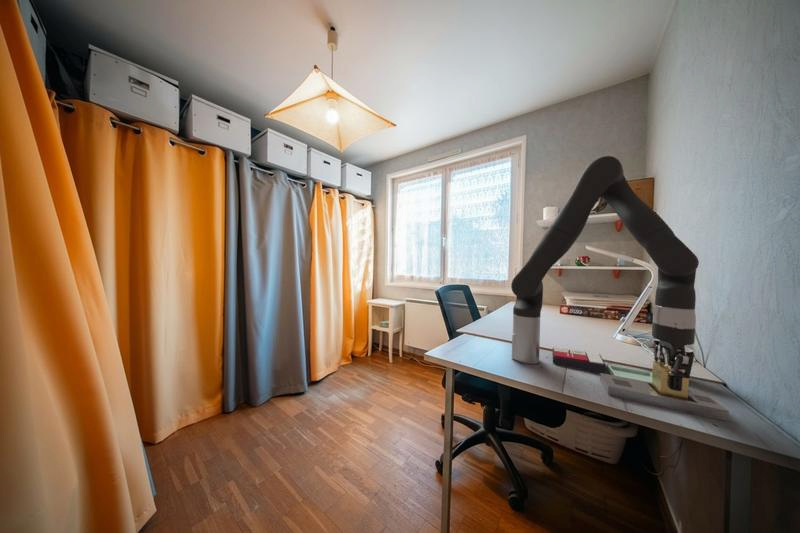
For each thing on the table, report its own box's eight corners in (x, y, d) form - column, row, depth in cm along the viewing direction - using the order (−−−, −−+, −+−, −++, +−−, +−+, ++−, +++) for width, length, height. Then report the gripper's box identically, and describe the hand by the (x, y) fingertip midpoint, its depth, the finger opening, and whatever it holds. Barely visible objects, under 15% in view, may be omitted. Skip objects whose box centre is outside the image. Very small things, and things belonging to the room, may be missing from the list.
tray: (617, 382, 73) (617, 378, 73) (606, 368, 83) (606, 364, 83) (668, 393, 67) (668, 387, 67) (650, 376, 77) (650, 371, 77)
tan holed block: (660, 397, 63) (661, 367, 62) (651, 388, 67) (653, 360, 67) (687, 402, 60) (689, 372, 60) (676, 393, 65) (678, 364, 64)
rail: (608, 394, 66) (608, 385, 66) (599, 380, 74) (600, 372, 74) (728, 421, 56) (728, 410, 56) (703, 401, 64) (704, 392, 64)
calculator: (552, 345, 95) (600, 352, 87) (552, 356, 95) (600, 363, 87) (552, 354, 86) (606, 362, 78) (552, 366, 86) (606, 375, 78)
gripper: (642, 315, 71) (639, 370, 72) (666, 327, 59) (662, 394, 59) (678, 319, 67) (674, 377, 68) (712, 333, 55) (707, 403, 56)
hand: (669, 384), depth 64 cm, fingers closed on tan holed block, 5 cm apart
